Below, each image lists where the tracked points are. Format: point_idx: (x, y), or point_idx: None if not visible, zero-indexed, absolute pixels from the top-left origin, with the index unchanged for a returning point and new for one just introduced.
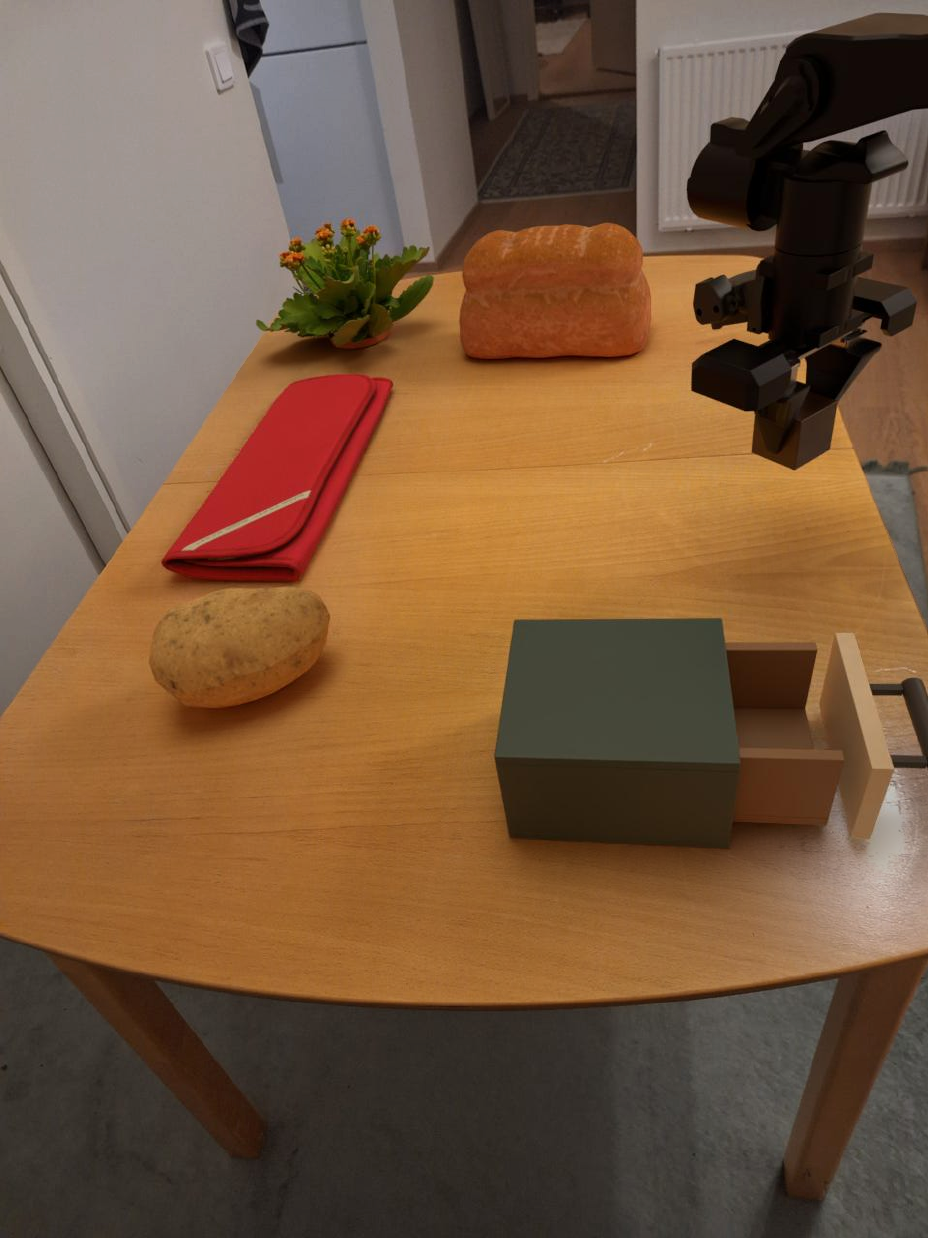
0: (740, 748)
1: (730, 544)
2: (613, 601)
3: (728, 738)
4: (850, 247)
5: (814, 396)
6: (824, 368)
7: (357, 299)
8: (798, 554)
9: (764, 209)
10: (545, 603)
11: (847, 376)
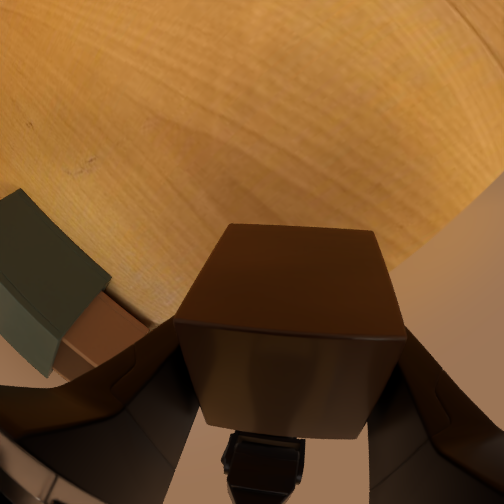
0: (55, 368)
1: (276, 130)
2: (100, 125)
3: (44, 371)
4: None
5: (353, 410)
6: (400, 478)
7: None
8: (323, 209)
9: None
10: (57, 91)
11: (370, 497)
